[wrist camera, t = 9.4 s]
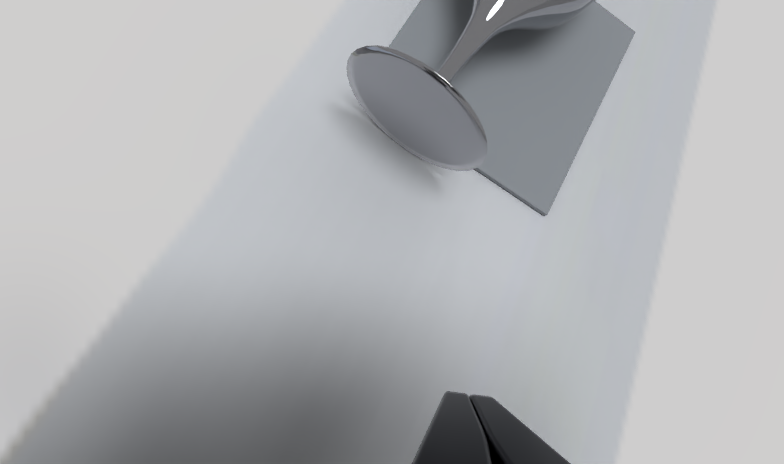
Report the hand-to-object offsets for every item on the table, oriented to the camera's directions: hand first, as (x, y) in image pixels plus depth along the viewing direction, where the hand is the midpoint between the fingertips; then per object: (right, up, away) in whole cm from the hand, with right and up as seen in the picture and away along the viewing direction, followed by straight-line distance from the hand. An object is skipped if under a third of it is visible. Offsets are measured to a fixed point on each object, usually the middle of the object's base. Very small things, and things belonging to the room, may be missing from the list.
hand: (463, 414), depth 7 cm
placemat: (+6, +13, +16) cm, 21 cm away
